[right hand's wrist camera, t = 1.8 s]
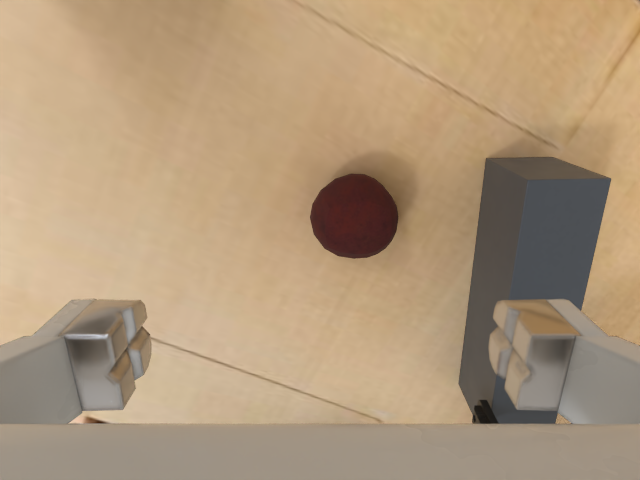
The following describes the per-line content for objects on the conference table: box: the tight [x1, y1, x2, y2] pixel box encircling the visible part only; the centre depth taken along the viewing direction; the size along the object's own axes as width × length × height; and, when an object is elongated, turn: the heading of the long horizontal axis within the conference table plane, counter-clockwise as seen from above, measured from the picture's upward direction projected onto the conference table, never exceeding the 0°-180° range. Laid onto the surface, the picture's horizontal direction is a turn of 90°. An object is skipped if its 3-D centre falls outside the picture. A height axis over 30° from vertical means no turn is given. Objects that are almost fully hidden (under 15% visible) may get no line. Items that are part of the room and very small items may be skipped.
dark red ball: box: [310, 174, 398, 258], centre depth 39 cm, size 7×8×7 cm
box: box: [459, 157, 611, 424], centre depth 41 cm, size 26×6×9 cm, turn 1°
